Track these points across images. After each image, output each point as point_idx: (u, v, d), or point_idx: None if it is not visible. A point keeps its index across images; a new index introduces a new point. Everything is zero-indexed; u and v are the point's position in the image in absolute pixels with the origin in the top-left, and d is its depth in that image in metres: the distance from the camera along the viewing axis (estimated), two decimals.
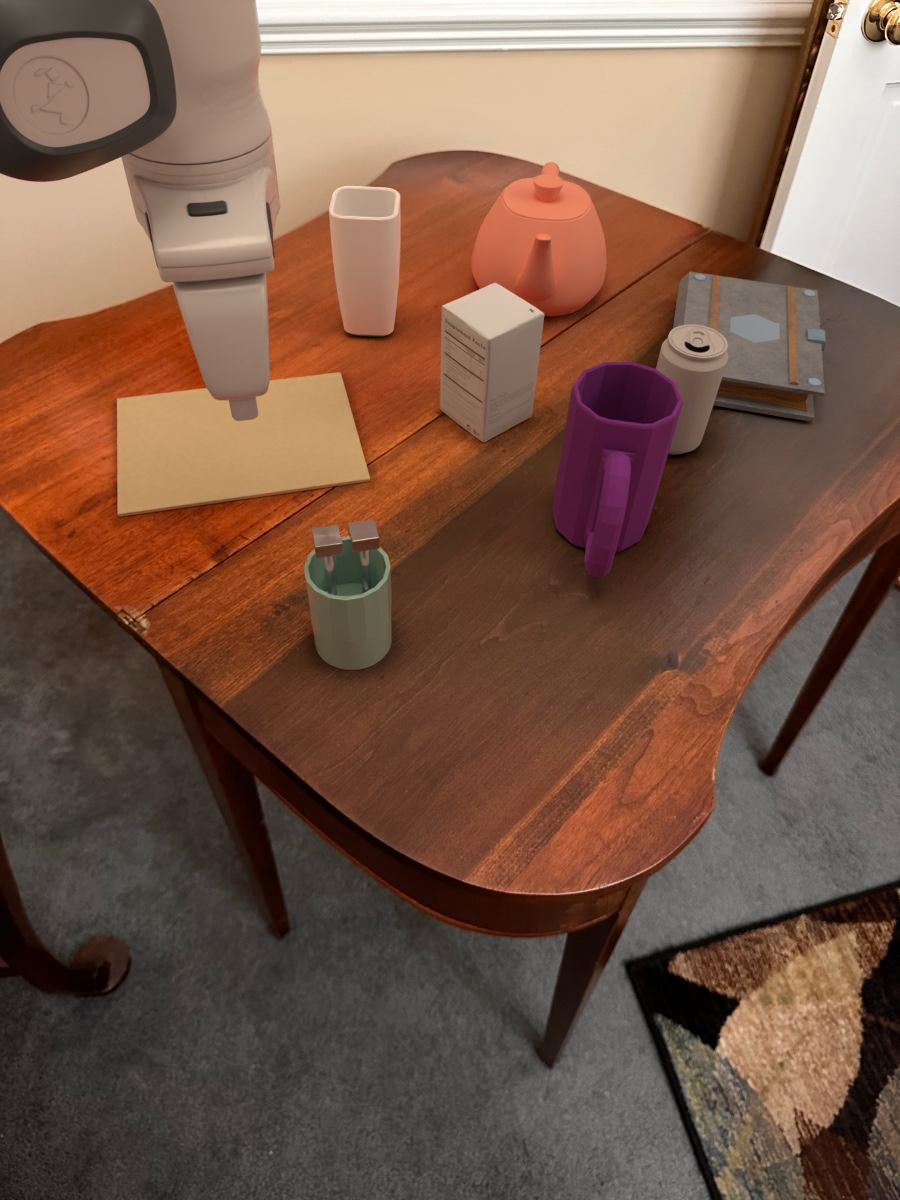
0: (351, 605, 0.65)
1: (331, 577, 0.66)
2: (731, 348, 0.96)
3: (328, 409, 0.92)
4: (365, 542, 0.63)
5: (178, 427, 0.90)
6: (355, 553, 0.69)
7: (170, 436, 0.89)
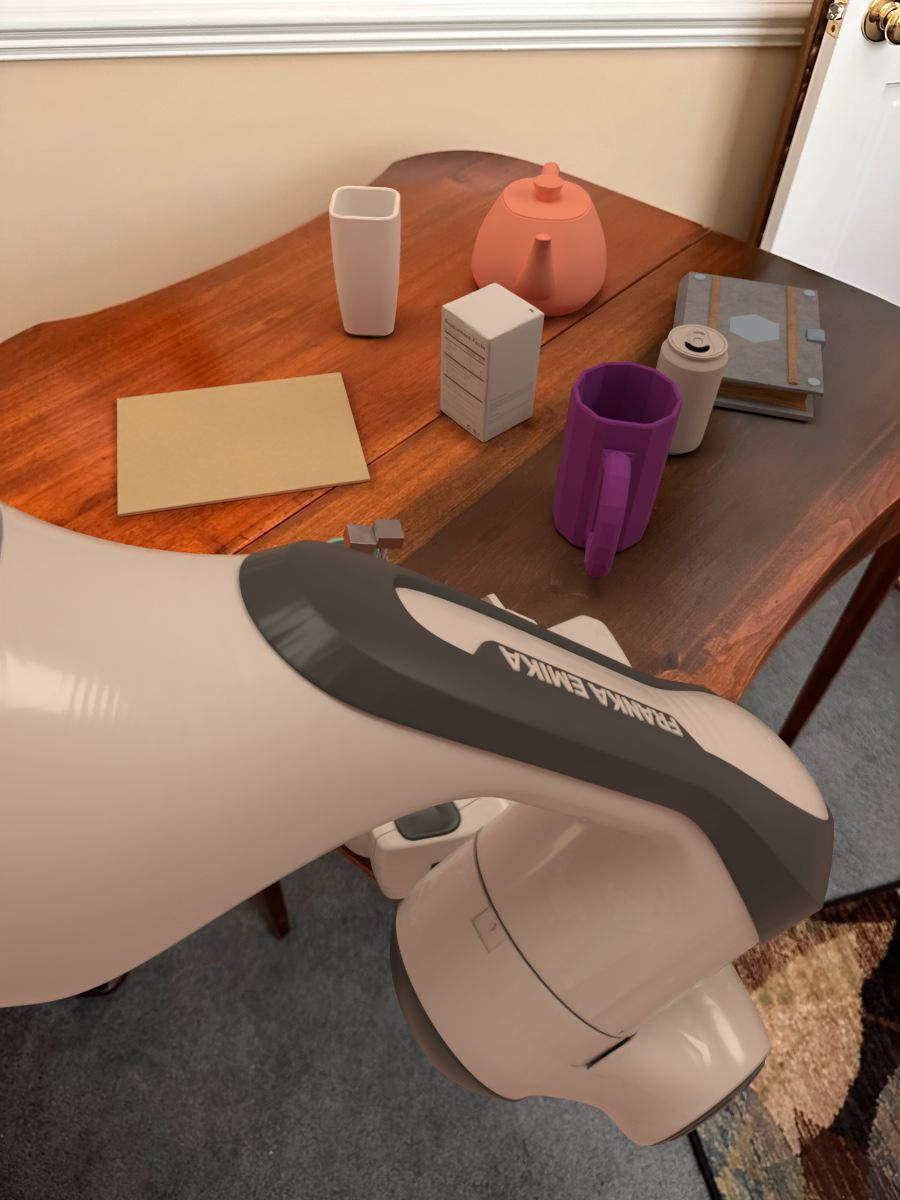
0: None
1: None
2: (730, 348, 0.96)
3: (328, 409, 0.92)
4: (390, 540, 0.64)
5: (178, 427, 0.90)
6: None
7: (170, 436, 0.89)
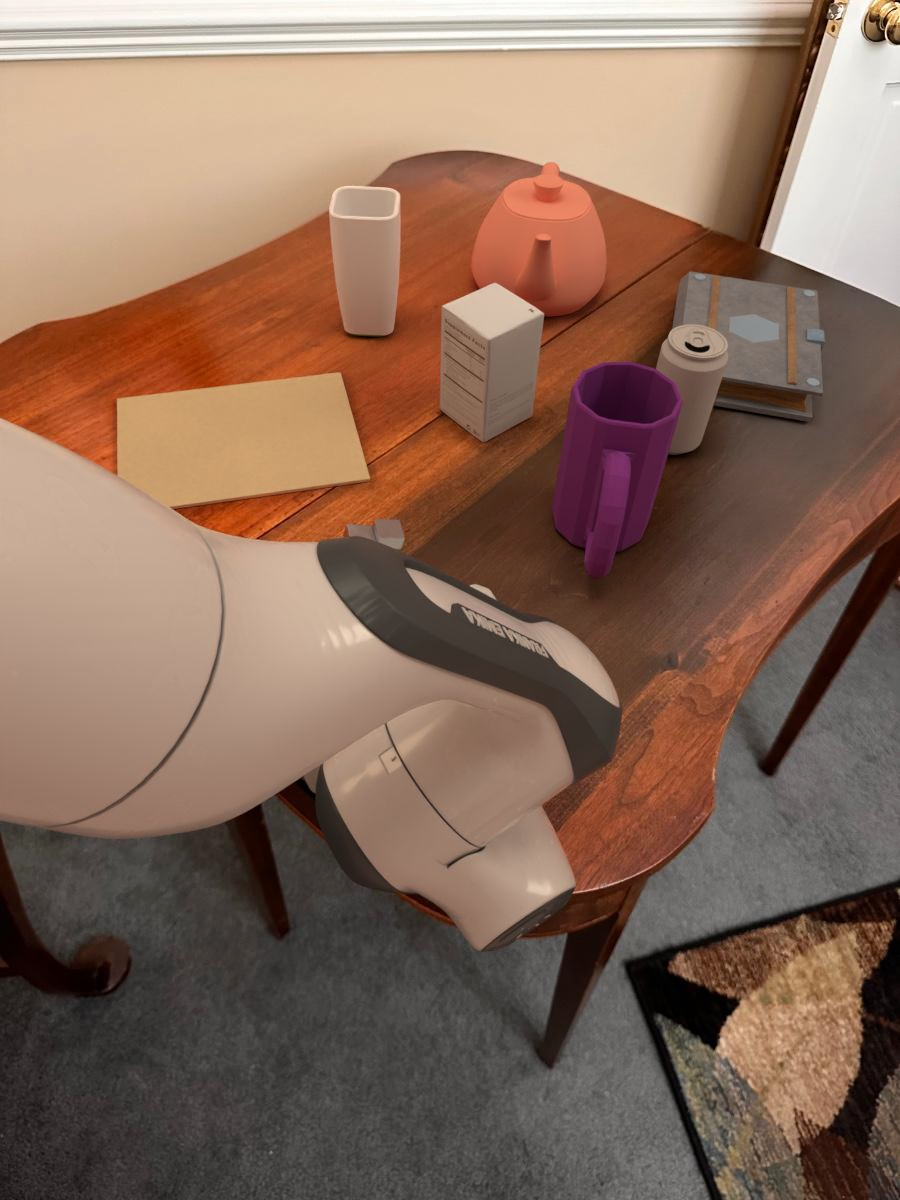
0: None
1: None
2: (730, 348, 0.96)
3: (328, 409, 0.92)
4: (390, 540, 0.64)
5: (178, 427, 0.90)
6: None
7: (170, 436, 0.89)
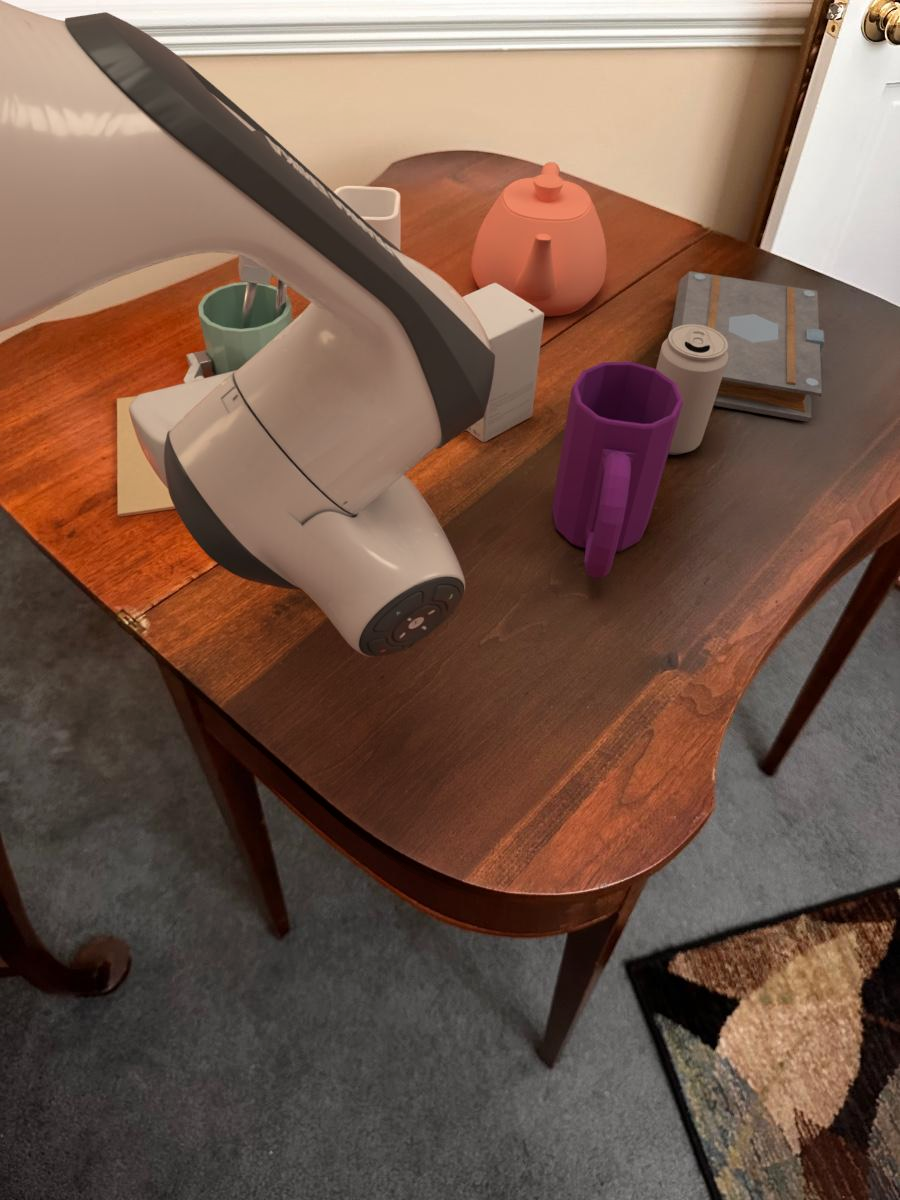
0: (246, 340, 0.61)
1: (247, 317, 0.63)
2: (729, 348, 0.96)
3: None
4: None
5: None
6: (258, 303, 0.65)
7: None
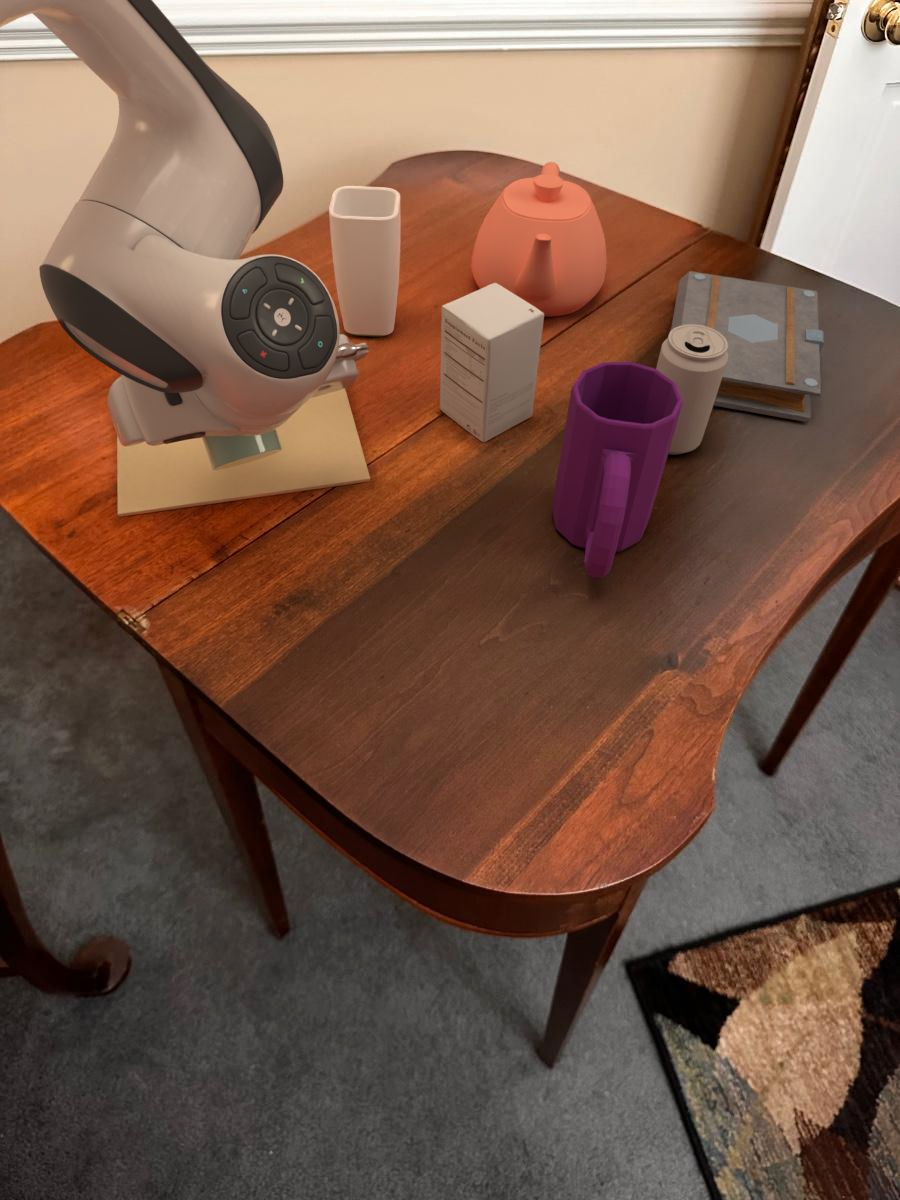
0: None
1: None
2: (728, 348, 0.96)
3: (328, 409, 0.92)
4: None
5: None
6: None
7: None
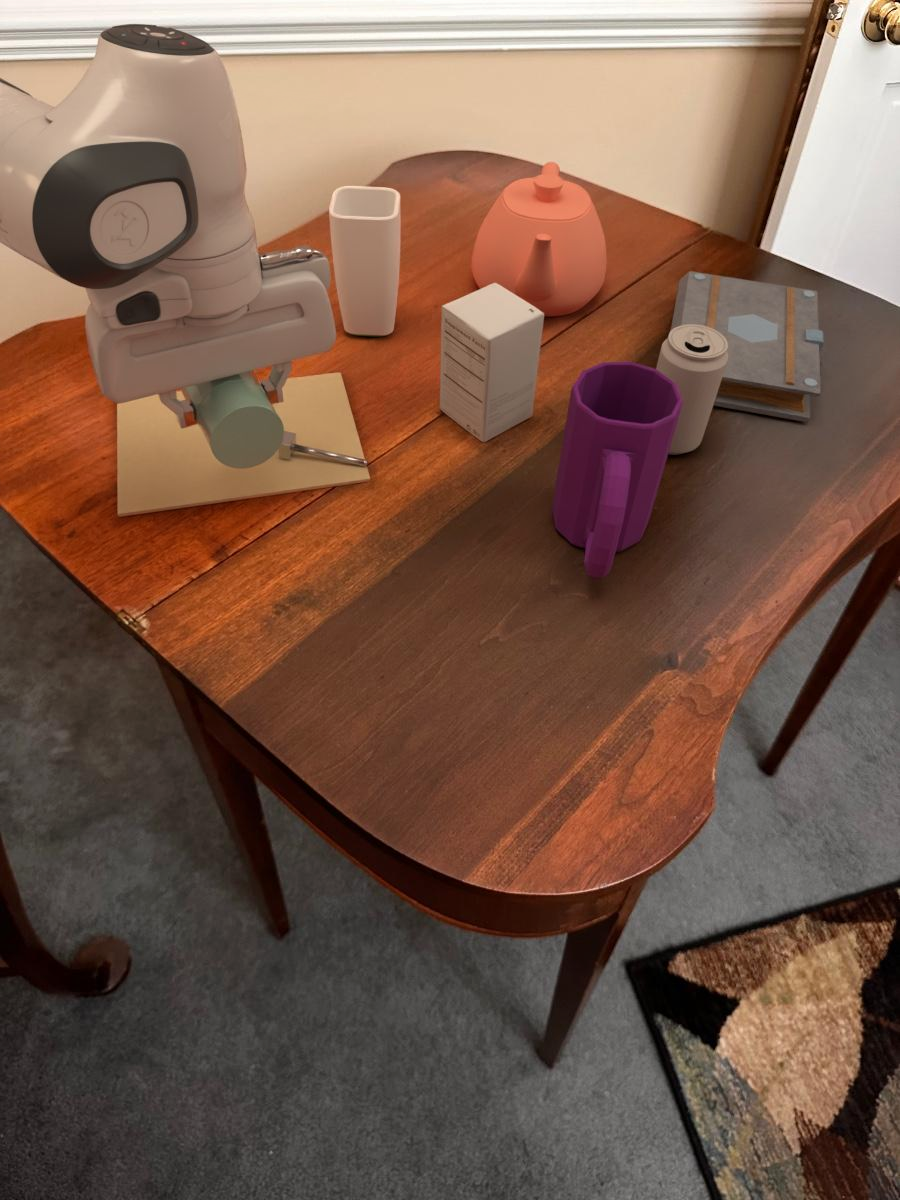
0: None
1: None
2: (728, 348, 0.96)
3: (328, 409, 0.92)
4: (281, 451, 0.86)
5: (178, 427, 0.90)
6: None
7: (170, 436, 0.89)
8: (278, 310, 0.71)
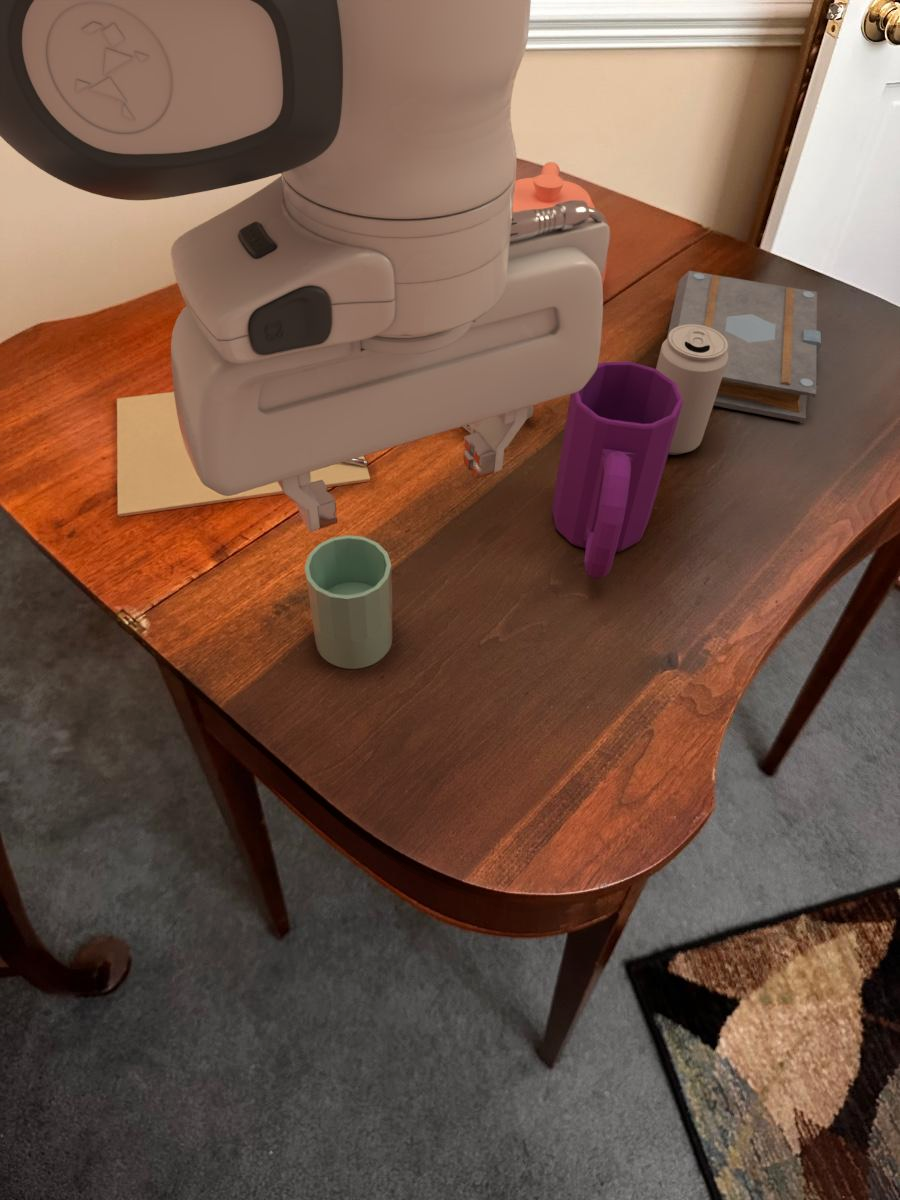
0: (352, 604, 0.65)
1: None
2: None
3: None
4: None
5: (178, 427, 0.90)
6: (355, 552, 0.69)
7: (170, 436, 0.89)
8: (520, 321, 0.39)
